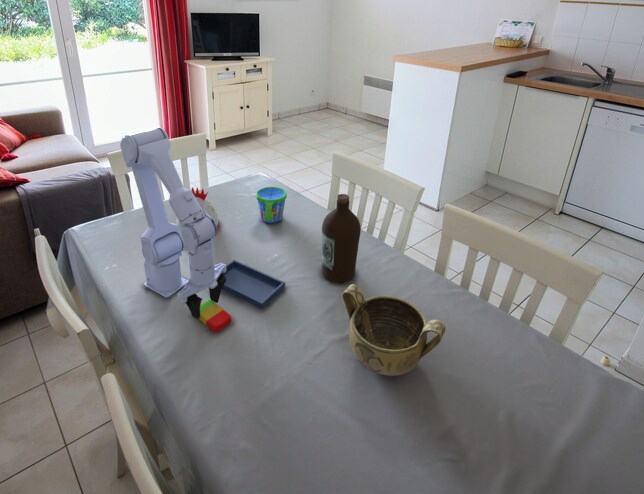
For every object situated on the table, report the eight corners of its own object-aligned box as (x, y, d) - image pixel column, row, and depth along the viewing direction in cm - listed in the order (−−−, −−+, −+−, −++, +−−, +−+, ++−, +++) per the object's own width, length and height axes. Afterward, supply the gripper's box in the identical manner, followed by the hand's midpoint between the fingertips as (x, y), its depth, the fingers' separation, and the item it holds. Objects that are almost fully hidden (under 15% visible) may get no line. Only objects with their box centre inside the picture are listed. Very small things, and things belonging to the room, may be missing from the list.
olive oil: (345, 259, 130) (350, 185, 120) (363, 280, 121) (371, 201, 111) (313, 267, 126) (316, 191, 116) (330, 289, 117) (334, 209, 107)
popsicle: (215, 334, 101) (215, 328, 101) (179, 304, 111) (178, 298, 110) (233, 322, 105) (233, 316, 105) (197, 294, 114) (196, 288, 114)
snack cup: (262, 206, 159) (262, 182, 155) (290, 209, 158) (290, 184, 154) (251, 228, 145) (250, 201, 141) (281, 231, 143) (281, 205, 140)
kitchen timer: (214, 239, 139) (211, 198, 133) (171, 238, 139) (167, 197, 133) (221, 217, 152) (219, 179, 146) (182, 216, 152) (179, 178, 146)
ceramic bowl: (446, 358, 96) (457, 305, 90) (418, 415, 83) (429, 357, 78) (358, 315, 108) (362, 266, 102) (321, 359, 95) (324, 306, 89)
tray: (209, 283, 118) (209, 277, 118) (234, 265, 126) (234, 259, 126) (262, 310, 109) (262, 303, 109) (285, 288, 117) (285, 282, 116)
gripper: (191, 286, 95) (195, 333, 100) (234, 254, 106) (236, 298, 111) (169, 274, 98) (174, 321, 103) (213, 245, 109) (216, 288, 115)
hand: (205, 308), depth 107 cm, fingers open, 6 cm apart
